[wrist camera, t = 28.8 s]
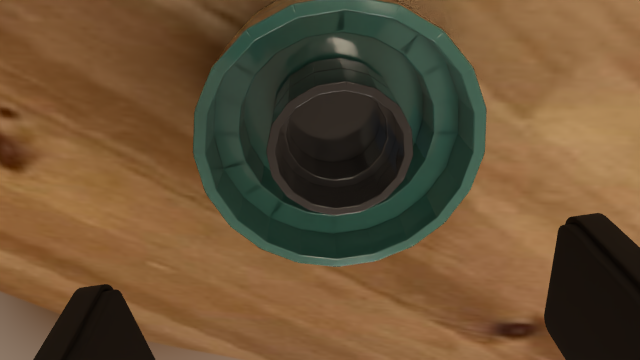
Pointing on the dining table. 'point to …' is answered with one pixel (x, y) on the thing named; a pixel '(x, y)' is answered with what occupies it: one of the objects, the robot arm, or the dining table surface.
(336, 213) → the charcoal bowl
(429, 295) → the dining table surface
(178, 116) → the dining table surface
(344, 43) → the green bowl
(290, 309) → the dining table surface
